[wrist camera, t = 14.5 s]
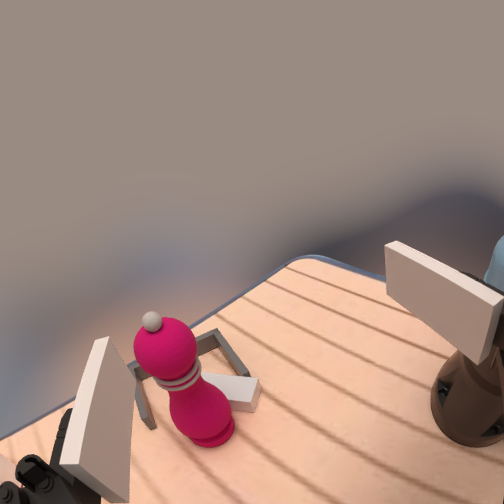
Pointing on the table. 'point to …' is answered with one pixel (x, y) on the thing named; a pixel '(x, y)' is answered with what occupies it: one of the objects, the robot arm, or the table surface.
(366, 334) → the table surface
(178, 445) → the table surface
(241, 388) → the white block
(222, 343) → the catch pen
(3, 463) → the can
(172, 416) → the pepper mill
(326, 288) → the table surface
